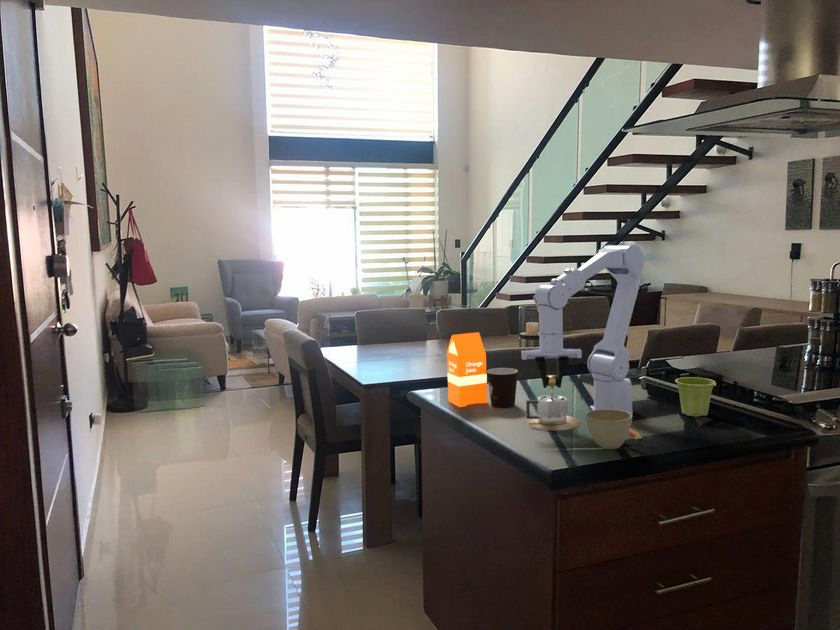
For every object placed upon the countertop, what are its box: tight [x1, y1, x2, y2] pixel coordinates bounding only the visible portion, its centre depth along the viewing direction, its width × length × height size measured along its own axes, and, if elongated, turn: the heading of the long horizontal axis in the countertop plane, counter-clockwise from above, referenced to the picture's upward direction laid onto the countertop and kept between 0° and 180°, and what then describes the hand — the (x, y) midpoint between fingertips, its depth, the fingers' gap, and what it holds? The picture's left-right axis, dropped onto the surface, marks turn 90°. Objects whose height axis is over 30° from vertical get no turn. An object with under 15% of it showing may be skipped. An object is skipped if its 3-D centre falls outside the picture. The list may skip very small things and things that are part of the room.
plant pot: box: [674, 376, 716, 418], centre depth 168 cm, size 9×9×9 cm
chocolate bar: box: [627, 427, 643, 440], centre depth 155 cm, size 3×12×2 cm, turn 9°
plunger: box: [542, 374, 563, 402], centre depth 164 cm, size 5×5×6 cm
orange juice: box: [446, 331, 488, 408], centre depth 188 cm, size 8×9×20 cm
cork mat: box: [523, 414, 582, 431], centre depth 165 cm, size 14×14×1 cm
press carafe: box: [525, 394, 568, 426], centre depth 165 cm, size 10×7×6 cm
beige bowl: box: [585, 409, 633, 450], centre depth 146 cm, size 10×10×7 cm
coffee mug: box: [486, 367, 519, 409], centre depth 184 cm, size 12×9×10 cm
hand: (551, 386), depth 164 cm, fingers closed on plunger, 3 cm apart
